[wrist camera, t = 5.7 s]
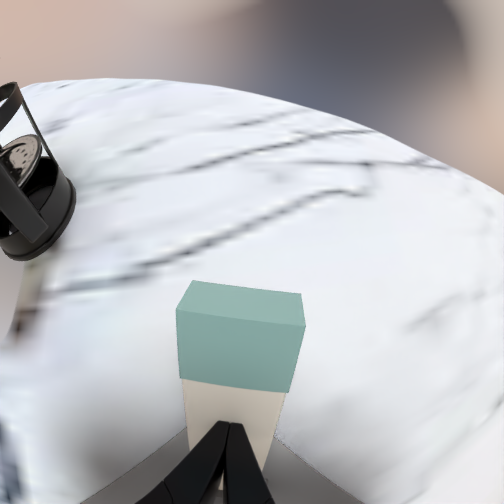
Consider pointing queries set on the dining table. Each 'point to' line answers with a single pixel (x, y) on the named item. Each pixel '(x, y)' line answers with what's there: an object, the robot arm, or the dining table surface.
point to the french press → (29, 187)
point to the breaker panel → (274, 471)
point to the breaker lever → (237, 358)
